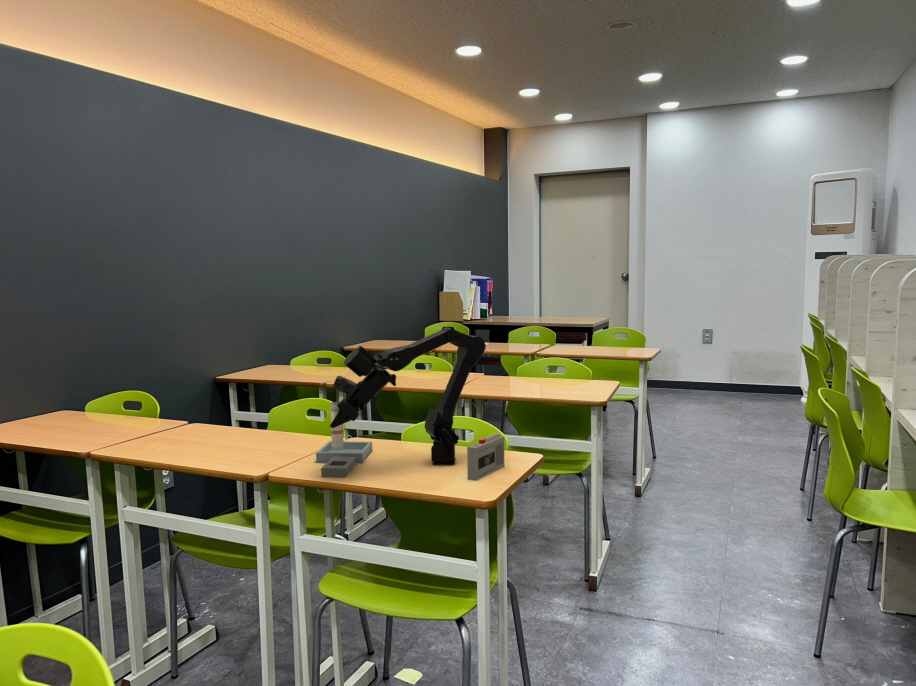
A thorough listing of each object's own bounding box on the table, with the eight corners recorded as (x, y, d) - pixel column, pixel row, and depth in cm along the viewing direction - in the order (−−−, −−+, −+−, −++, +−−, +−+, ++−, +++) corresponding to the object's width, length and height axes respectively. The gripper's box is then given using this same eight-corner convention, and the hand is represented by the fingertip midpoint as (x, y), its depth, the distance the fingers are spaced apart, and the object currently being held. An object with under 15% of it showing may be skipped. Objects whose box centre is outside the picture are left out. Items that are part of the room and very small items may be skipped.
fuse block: (356, 465, 192) (356, 456, 192) (346, 477, 180) (346, 468, 180) (332, 464, 192) (332, 456, 192) (321, 477, 180) (321, 468, 180)
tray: (372, 451, 208) (372, 441, 207) (362, 463, 194) (362, 453, 193) (329, 450, 209) (328, 441, 208) (316, 462, 195) (316, 452, 194)
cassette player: (476, 481, 176) (475, 444, 175) (467, 479, 177) (467, 443, 176) (504, 467, 189) (504, 432, 188) (496, 465, 190) (496, 431, 189)
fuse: (345, 447, 186) (343, 401, 185) (342, 450, 183) (340, 404, 181) (333, 447, 186) (332, 401, 185) (330, 450, 183) (328, 404, 182)
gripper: (354, 362, 192) (317, 399, 192) (344, 370, 173) (303, 412, 174) (382, 388, 192) (345, 425, 193) (374, 399, 174) (334, 441, 175)
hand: (332, 425), depth 184 cm, fingers closed on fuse, 3 cm apart
